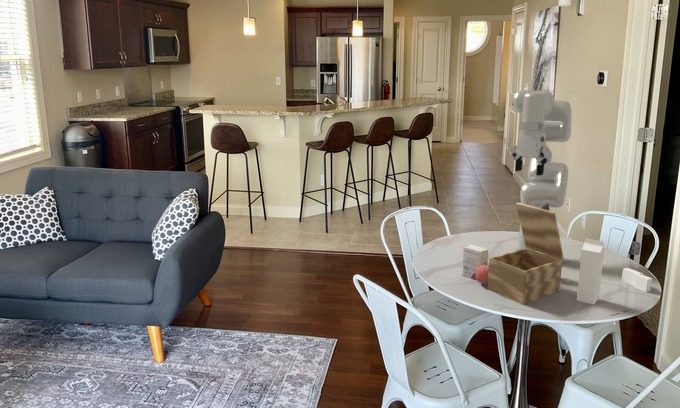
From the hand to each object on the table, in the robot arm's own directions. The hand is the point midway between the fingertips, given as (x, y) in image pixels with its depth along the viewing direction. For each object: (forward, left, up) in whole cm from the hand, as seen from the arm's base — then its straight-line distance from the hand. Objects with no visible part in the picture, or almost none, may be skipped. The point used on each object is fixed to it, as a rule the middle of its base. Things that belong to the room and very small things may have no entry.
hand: (528, 172), depth 212 cm
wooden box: (+12, +11, -40) cm, 43 cm away
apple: (+19, -1, -40) cm, 45 cm away
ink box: (+17, -8, -40) cm, 45 cm away
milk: (0, +29, -40) cm, 50 cm away
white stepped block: (-25, +32, -41) cm, 58 cm away
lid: (+6, +11, -19) cm, 23 cm away
